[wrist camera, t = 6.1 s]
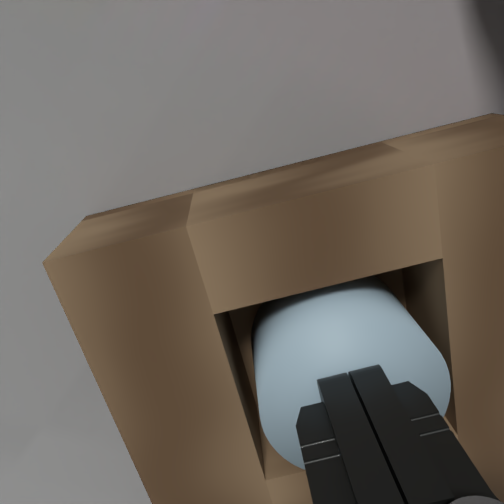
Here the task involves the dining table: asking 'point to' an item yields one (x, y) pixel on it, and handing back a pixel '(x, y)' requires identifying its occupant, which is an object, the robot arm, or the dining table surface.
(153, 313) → the wooden slotted tray
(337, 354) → the slate button
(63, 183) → the dining table surface
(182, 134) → the dining table surface
